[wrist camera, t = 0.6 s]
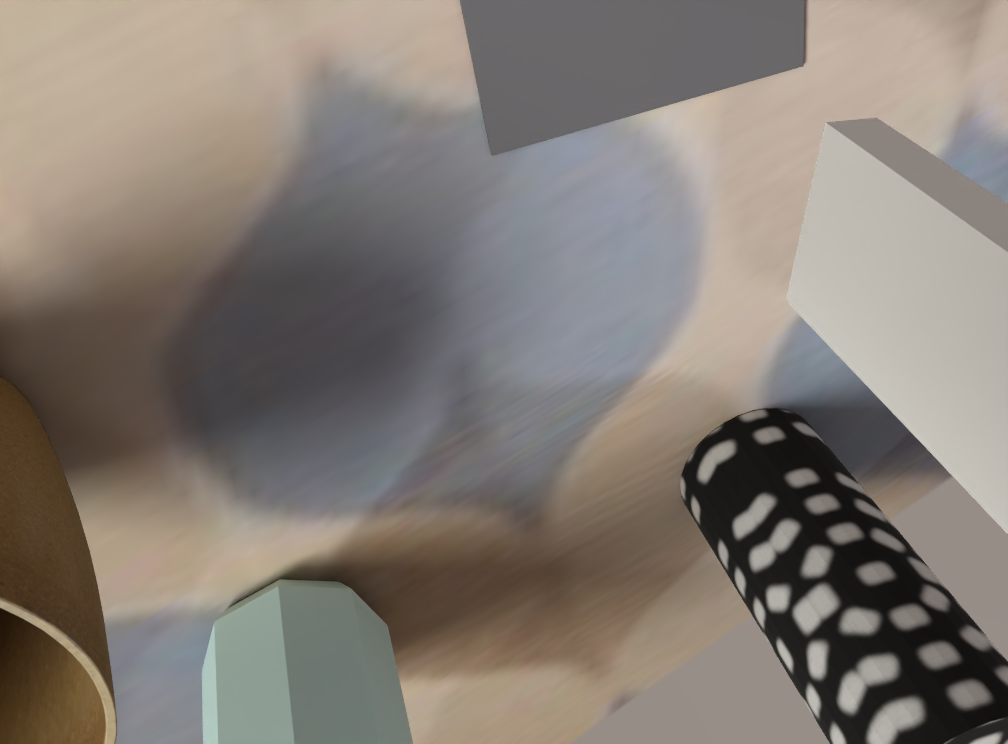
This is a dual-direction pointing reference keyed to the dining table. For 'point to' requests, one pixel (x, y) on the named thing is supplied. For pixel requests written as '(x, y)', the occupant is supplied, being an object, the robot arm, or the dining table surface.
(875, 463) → the dining table surface
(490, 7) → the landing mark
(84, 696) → the plant pot
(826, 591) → the spotted tube
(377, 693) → the water bottle
